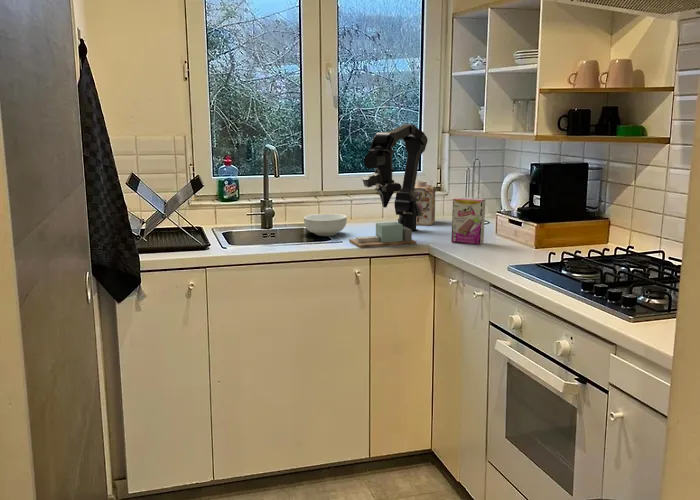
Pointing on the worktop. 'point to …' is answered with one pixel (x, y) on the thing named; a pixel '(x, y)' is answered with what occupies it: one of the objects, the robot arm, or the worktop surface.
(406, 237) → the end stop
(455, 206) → the candy bar box
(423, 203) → the decorative jar
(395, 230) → the block
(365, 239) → the metal rail
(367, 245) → the mounting board
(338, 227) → the cereal bowl
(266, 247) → the worktop surface
